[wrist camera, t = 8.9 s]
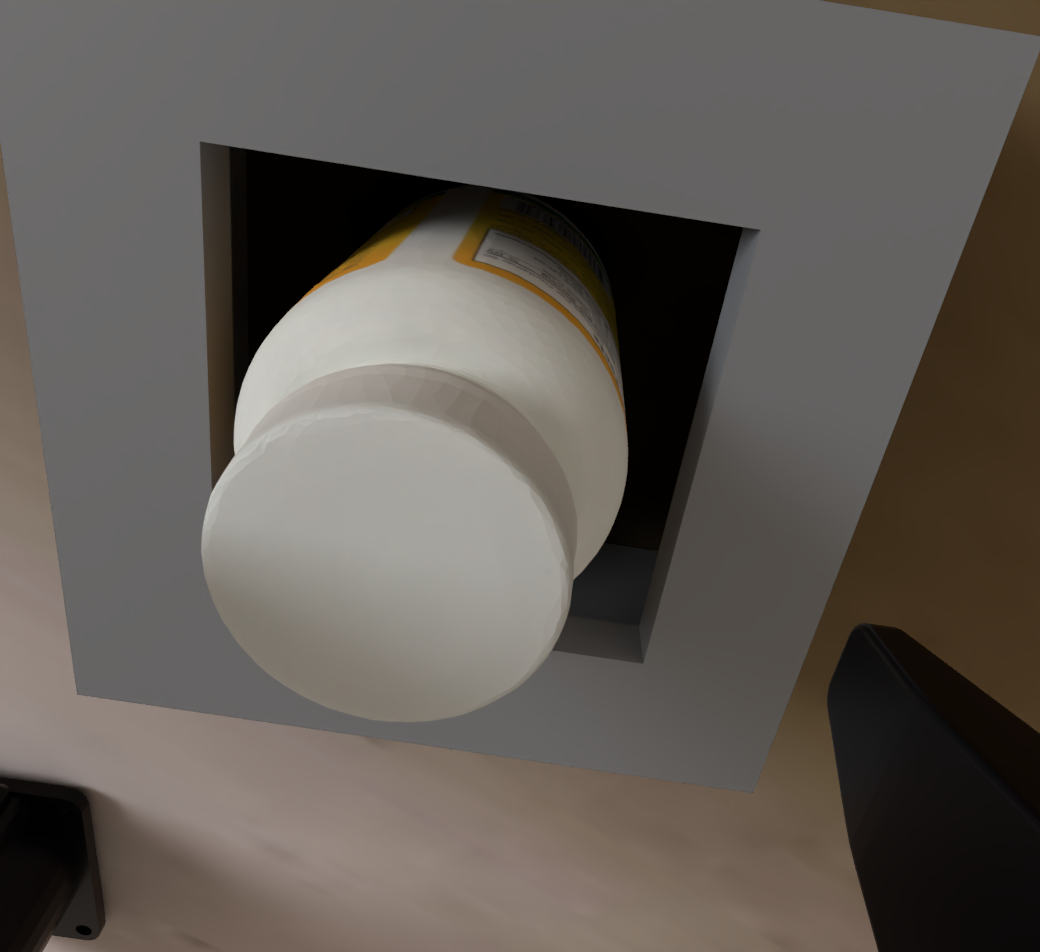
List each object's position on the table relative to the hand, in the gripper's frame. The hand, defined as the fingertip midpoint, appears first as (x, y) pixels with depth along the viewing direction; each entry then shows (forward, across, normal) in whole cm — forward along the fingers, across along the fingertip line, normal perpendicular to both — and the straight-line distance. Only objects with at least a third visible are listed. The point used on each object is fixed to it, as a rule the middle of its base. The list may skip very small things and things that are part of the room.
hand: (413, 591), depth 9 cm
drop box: (+10, 0, 0) cm, 10 cm away
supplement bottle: (+10, 0, 0) cm, 10 cm away
